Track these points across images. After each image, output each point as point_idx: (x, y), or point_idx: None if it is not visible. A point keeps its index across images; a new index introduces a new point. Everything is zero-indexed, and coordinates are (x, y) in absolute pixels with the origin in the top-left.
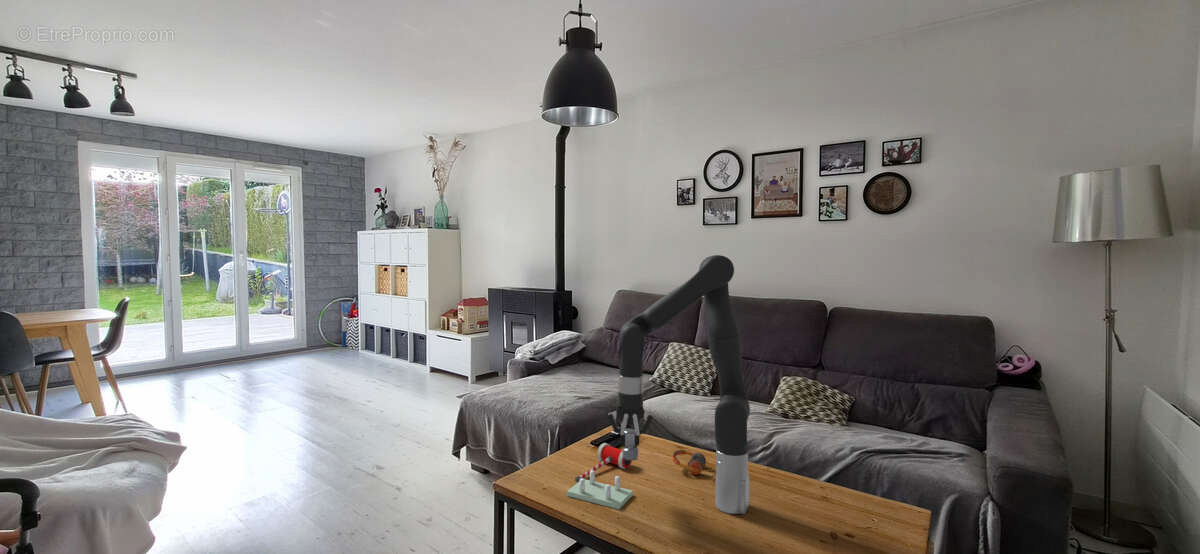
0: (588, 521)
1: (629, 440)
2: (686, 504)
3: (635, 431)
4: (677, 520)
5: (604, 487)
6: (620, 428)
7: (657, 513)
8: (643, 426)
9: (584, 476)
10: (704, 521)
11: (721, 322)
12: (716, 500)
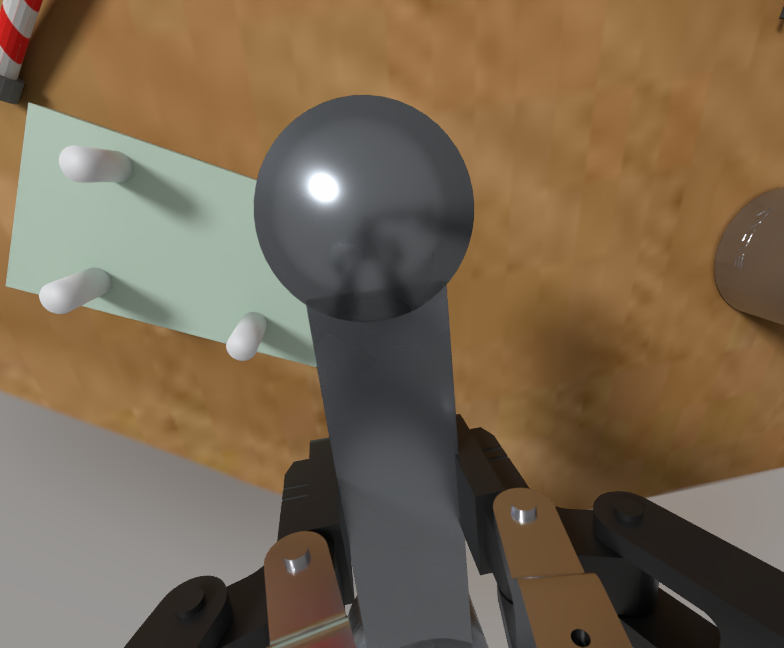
0: (211, 466)
1: (400, 532)
2: (599, 264)
3: (510, 631)
4: (548, 392)
5: (203, 207)
6: (268, 636)
7: (476, 358)
8: (662, 568)
9: (22, 44)
10: (641, 380)
11: None
12: (737, 275)
